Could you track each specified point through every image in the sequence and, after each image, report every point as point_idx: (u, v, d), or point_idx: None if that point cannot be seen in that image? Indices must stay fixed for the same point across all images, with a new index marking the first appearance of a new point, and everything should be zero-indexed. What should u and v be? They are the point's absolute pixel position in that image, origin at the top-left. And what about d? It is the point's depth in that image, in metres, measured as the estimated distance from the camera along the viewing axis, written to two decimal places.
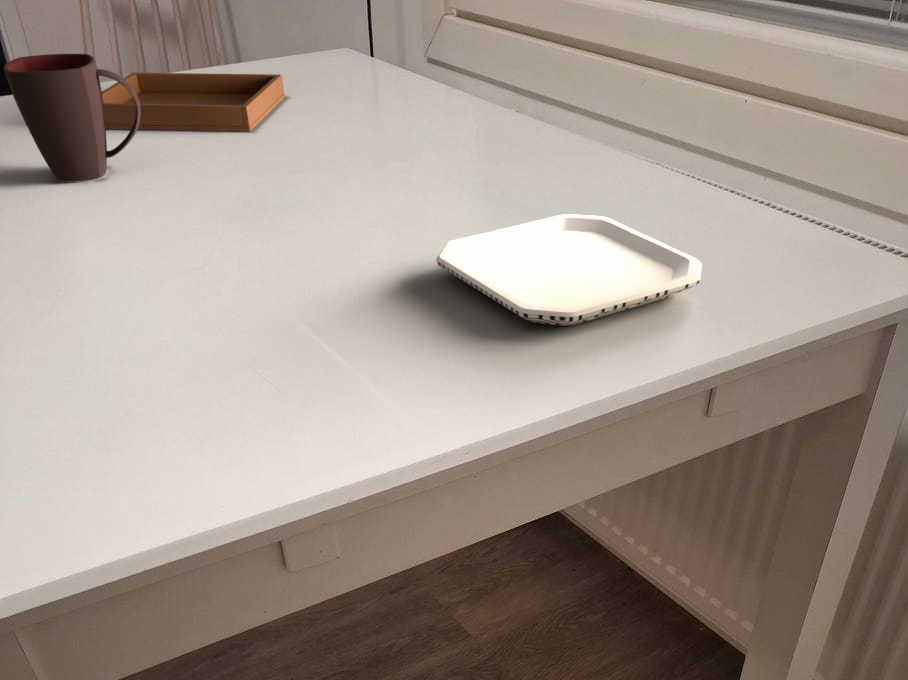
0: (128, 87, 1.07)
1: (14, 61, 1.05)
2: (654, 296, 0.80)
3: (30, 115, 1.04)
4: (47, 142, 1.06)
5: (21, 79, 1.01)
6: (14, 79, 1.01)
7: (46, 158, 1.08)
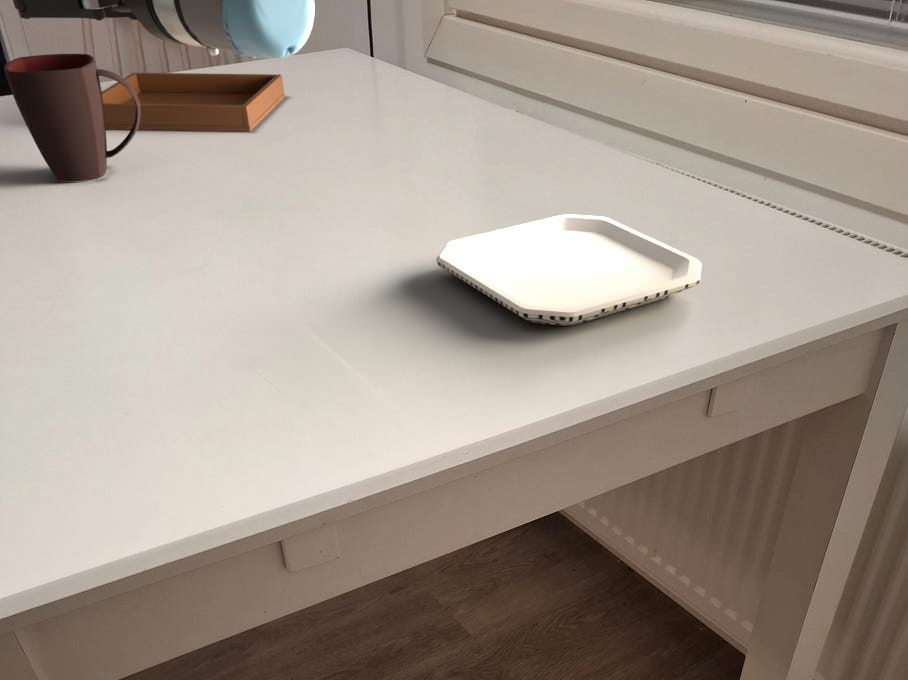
0: (128, 87, 1.07)
1: (14, 61, 1.05)
2: (654, 296, 0.80)
3: (30, 115, 1.04)
4: (47, 142, 1.06)
5: (21, 79, 1.01)
6: (14, 79, 1.01)
7: (46, 158, 1.08)
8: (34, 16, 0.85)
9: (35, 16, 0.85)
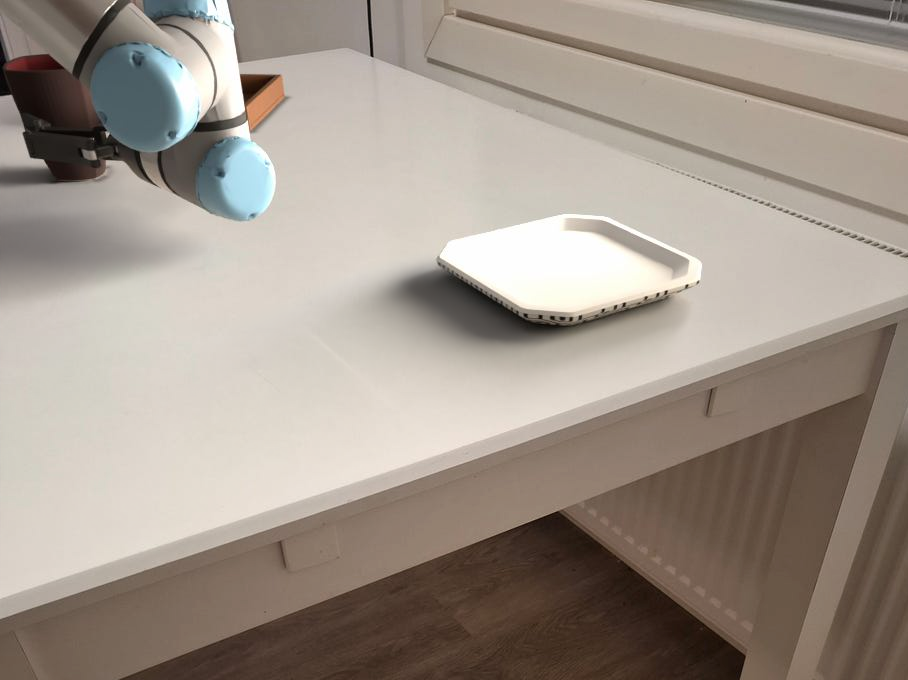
0: None
1: (16, 60, 1.06)
2: (654, 296, 0.80)
3: None
4: None
5: (17, 78, 1.01)
6: (10, 78, 1.02)
7: None
8: (41, 158, 0.99)
9: (42, 158, 0.99)
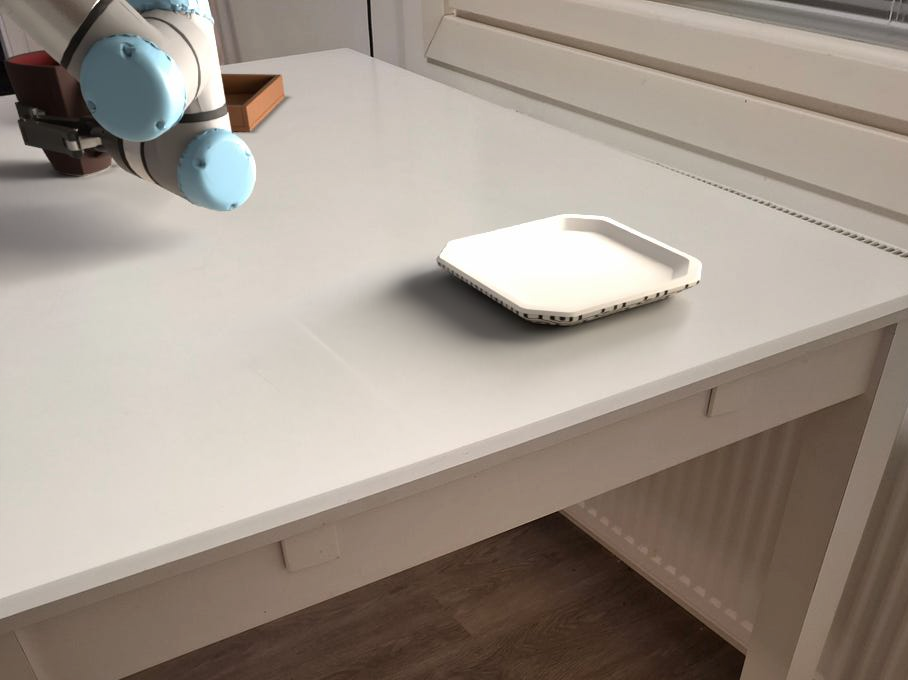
0: None
1: (41, 51, 1.09)
2: (654, 296, 0.80)
3: None
4: None
5: (9, 68, 1.04)
6: (6, 68, 1.05)
7: None
8: (33, 145, 1.02)
9: (34, 146, 1.02)
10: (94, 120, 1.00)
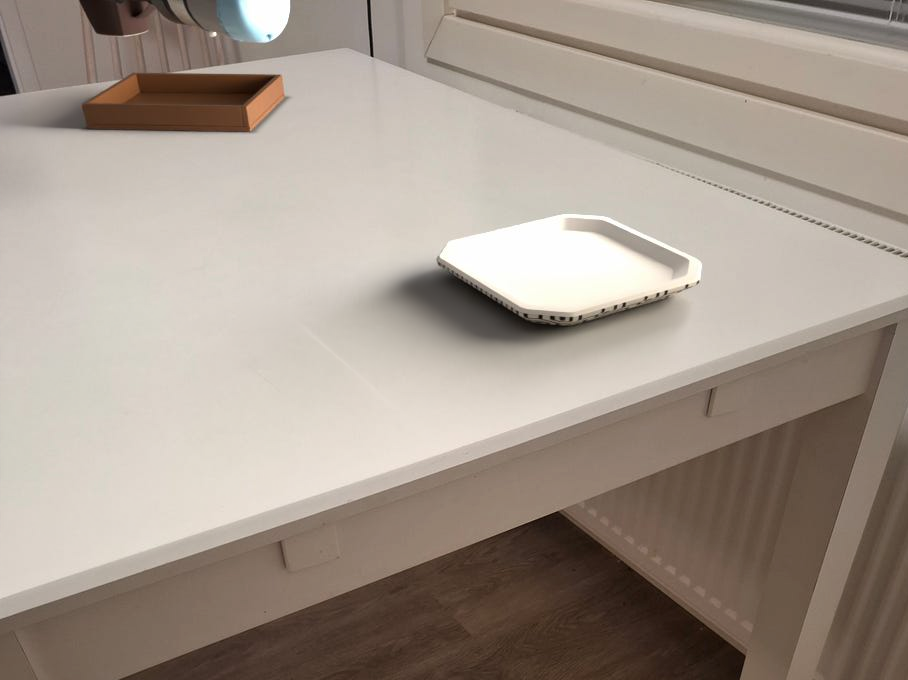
0: None
1: None
2: (654, 296, 0.80)
3: None
4: None
5: None
6: None
7: None
8: None
9: None
10: None
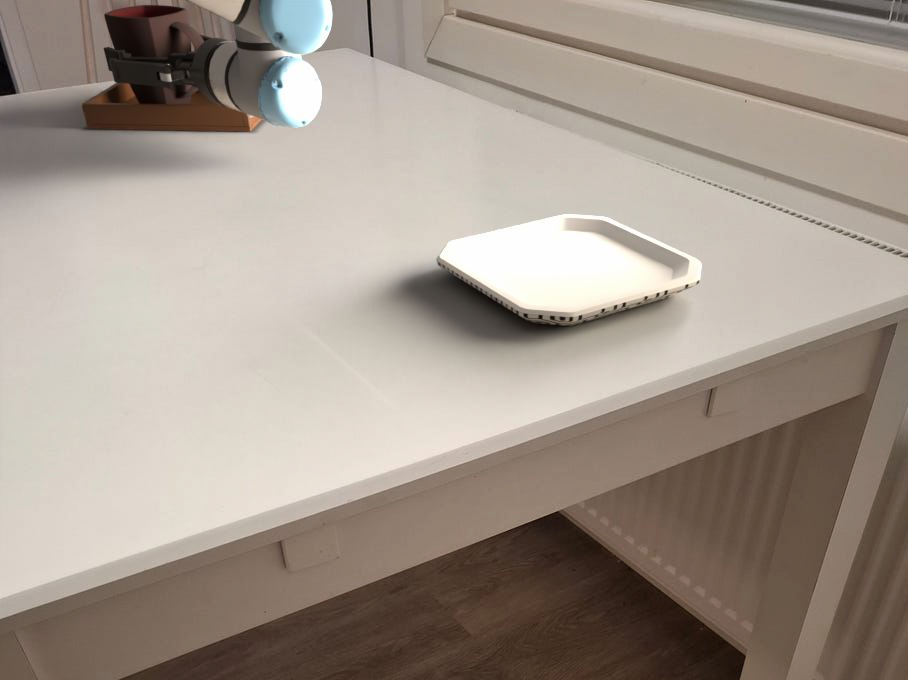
0: (192, 40, 1.24)
1: (133, 7, 1.28)
2: (654, 296, 0.80)
3: None
4: None
5: (109, 21, 1.24)
6: (106, 20, 1.24)
7: (132, 89, 1.30)
8: (124, 82, 1.20)
9: (125, 82, 1.20)
10: (181, 57, 1.19)
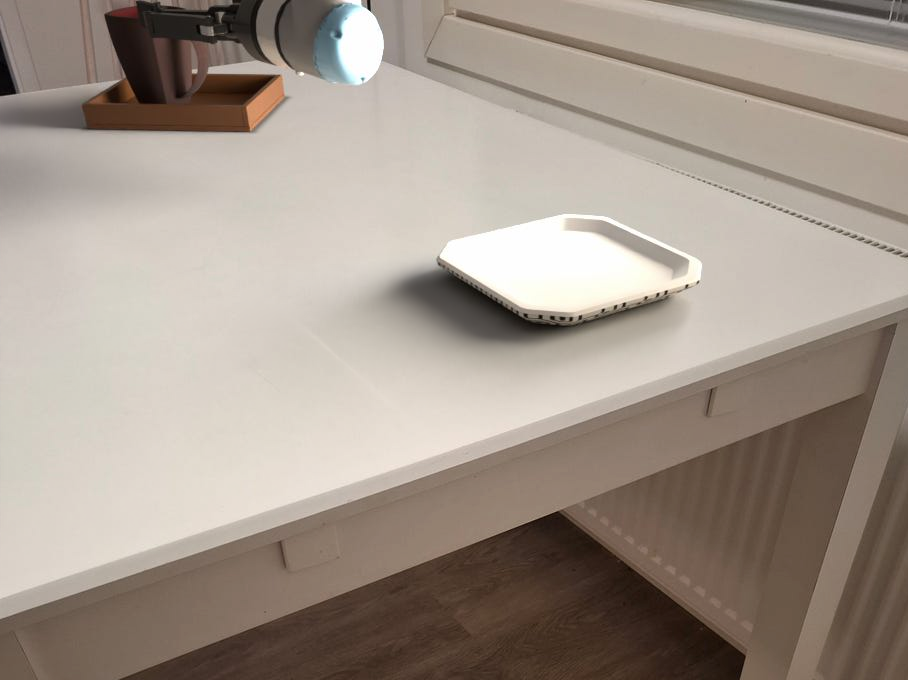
0: None
1: (133, 7, 1.28)
2: (654, 296, 0.80)
3: (117, 51, 1.26)
4: (129, 76, 1.28)
5: (109, 21, 1.24)
6: (106, 20, 1.24)
7: (132, 89, 1.30)
8: (160, 37, 1.08)
9: (161, 37, 1.08)
10: (224, 9, 1.07)
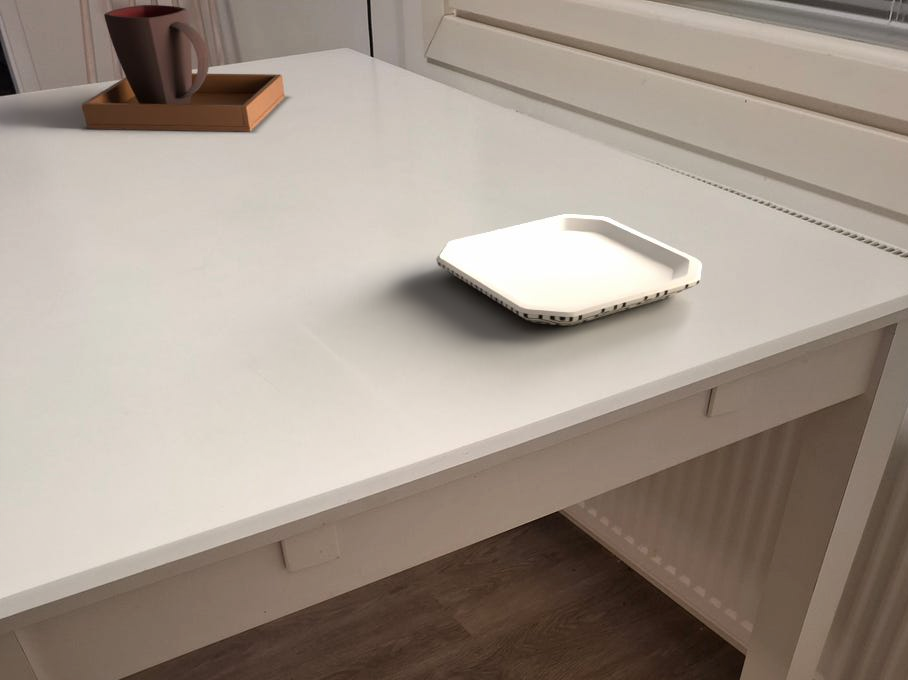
0: (192, 40, 1.24)
1: (133, 7, 1.28)
2: (654, 296, 0.80)
3: (117, 51, 1.26)
4: (129, 76, 1.28)
5: (109, 21, 1.24)
6: (106, 20, 1.24)
7: (132, 89, 1.30)
8: None
9: None
10: None
